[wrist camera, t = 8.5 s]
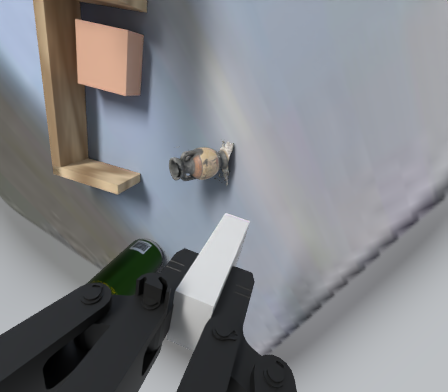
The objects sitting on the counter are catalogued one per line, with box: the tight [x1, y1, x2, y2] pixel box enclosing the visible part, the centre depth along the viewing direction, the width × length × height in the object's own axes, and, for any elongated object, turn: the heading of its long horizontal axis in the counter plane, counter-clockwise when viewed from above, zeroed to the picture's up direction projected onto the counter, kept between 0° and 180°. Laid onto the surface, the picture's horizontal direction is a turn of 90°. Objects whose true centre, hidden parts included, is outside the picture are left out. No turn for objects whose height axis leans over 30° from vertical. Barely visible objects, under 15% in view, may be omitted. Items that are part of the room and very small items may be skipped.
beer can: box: [85, 238, 163, 296], centre depth 33 cm, size 5×5×12 cm
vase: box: [169, 141, 234, 186], centre depth 28 cm, size 5×5×6 cm
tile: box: [75, 19, 144, 96], centre depth 28 cm, size 6×6×3 cm
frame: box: [33, 0, 147, 194], centre depth 29 cm, size 9×20×4 cm, turn 169°
